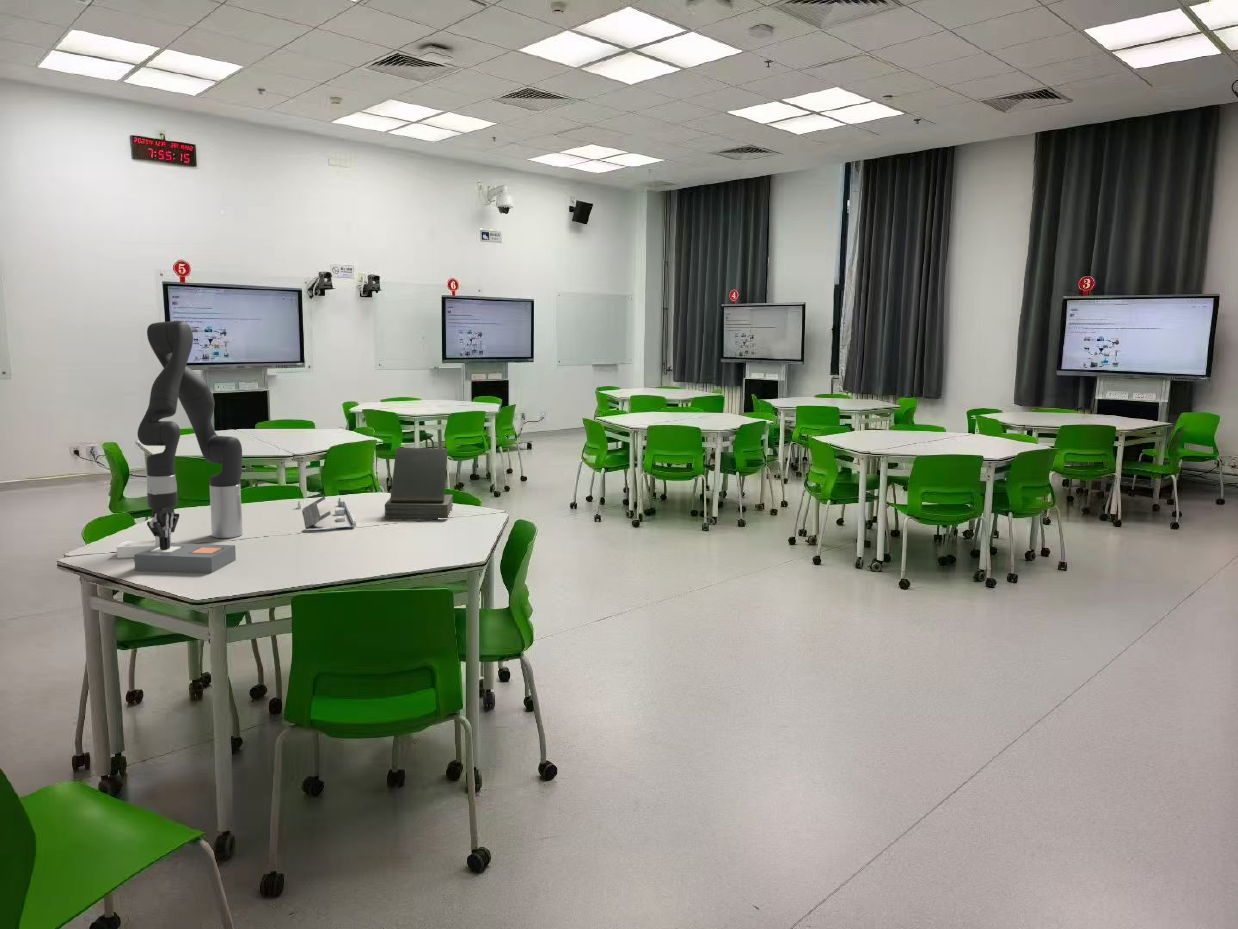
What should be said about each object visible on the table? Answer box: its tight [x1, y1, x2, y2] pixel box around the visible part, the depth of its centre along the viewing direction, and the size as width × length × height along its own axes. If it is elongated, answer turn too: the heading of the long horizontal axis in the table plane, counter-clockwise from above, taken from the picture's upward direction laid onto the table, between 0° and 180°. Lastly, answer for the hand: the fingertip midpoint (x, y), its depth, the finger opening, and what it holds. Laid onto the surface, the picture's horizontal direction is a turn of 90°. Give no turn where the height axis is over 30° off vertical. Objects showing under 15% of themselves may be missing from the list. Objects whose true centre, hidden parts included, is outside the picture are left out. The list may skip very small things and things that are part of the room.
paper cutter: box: [296, 496, 357, 531], centre depth 307 cm, size 18×45×6 cm, turn 23°
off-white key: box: [149, 546, 182, 553], centre depth 242 cm, size 6×6×4 cm
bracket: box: [116, 535, 172, 559], centre depth 252 cm, size 13×7×8 cm, turn 106°
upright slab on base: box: [384, 447, 454, 521], centre depth 317 cm, size 23×20×25 cm
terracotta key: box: [191, 547, 222, 554], centre depth 241 cm, size 6×6×4 cm
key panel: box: [133, 542, 237, 574], centre depth 242 cm, size 14×22×4 cm, turn 89°
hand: (165, 549), depth 241 cm, fingers closed
